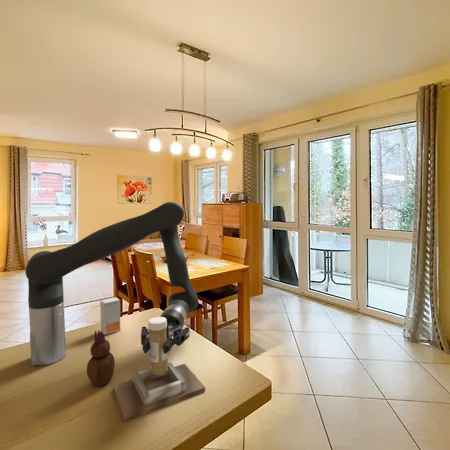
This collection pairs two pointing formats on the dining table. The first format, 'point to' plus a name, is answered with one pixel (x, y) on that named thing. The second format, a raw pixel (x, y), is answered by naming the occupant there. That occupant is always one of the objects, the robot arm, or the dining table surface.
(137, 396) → the board
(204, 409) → the dining table surface
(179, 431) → the dining table surface
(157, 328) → the sprinkles bottle
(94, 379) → the wooden figurine
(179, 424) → the dining table surface
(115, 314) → the skincare box
